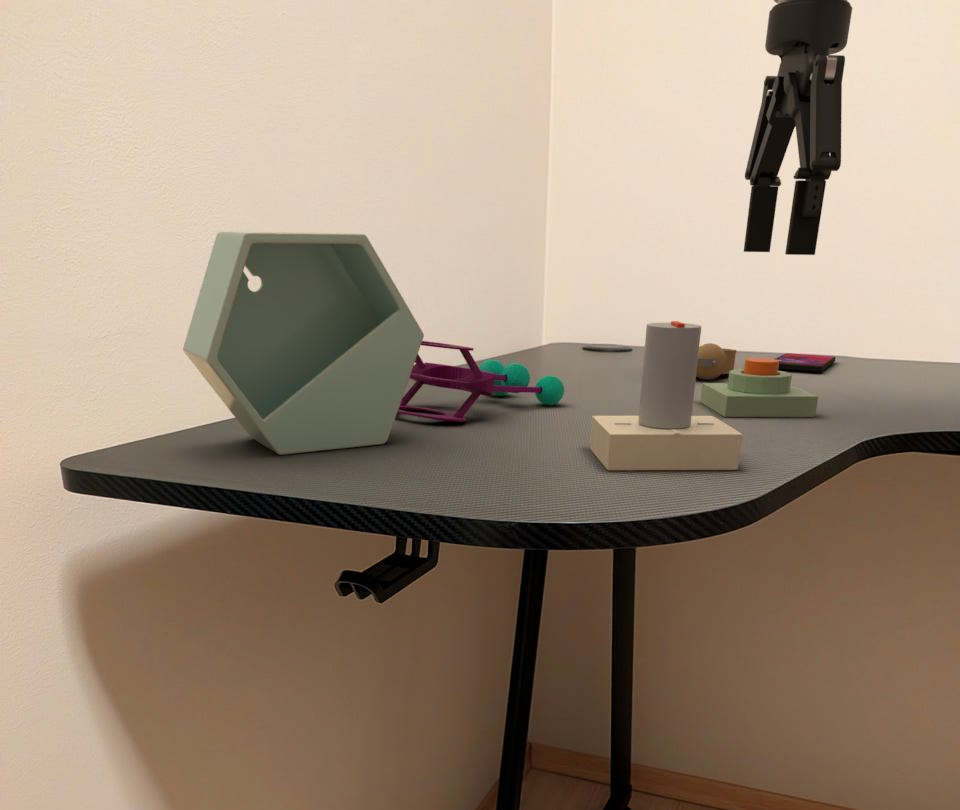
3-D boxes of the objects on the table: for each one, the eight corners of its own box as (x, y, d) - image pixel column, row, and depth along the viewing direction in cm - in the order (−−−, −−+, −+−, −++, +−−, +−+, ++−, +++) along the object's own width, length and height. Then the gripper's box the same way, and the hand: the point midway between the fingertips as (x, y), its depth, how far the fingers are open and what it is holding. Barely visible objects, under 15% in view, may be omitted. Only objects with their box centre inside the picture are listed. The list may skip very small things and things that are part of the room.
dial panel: (707, 448, 83) (712, 413, 82) (739, 471, 75) (744, 432, 74) (589, 448, 82) (591, 413, 81) (608, 471, 74) (611, 432, 73)
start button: (769, 374, 102) (772, 357, 101) (781, 378, 99) (784, 362, 98) (738, 373, 102) (740, 357, 101) (749, 378, 98) (751, 362, 98)
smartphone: (837, 356, 140) (822, 366, 128) (835, 362, 140) (821, 373, 128) (785, 352, 143) (766, 362, 131) (784, 358, 143) (765, 368, 131)
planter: (315, 502, 81) (159, 299, 68) (286, 482, 87) (137, 293, 75) (454, 385, 84) (328, 169, 71) (416, 373, 90) (294, 173, 77)
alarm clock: (741, 349, 129) (728, 339, 115) (736, 385, 130) (723, 380, 116) (663, 344, 132) (641, 335, 119) (658, 379, 134) (637, 374, 120)
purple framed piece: (569, 421, 102) (578, 356, 100) (438, 421, 89) (444, 346, 86) (492, 406, 110) (498, 345, 108) (361, 404, 97) (365, 335, 94)
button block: (783, 402, 106) (789, 367, 104) (815, 417, 98) (821, 379, 96) (700, 402, 105) (704, 366, 104) (724, 417, 97) (729, 378, 96)
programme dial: (633, 418, 79) (641, 318, 76) (682, 418, 79) (693, 318, 76) (645, 428, 75) (654, 323, 72) (697, 429, 76) (708, 324, 72)
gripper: (731, 27, 96) (707, 250, 105) (826, -32, 75) (785, 255, 84) (800, 29, 97) (770, 251, 106) (913, -28, 75) (863, 256, 84)
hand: (776, 253), depth 95 cm, fingers open, 11 cm apart
